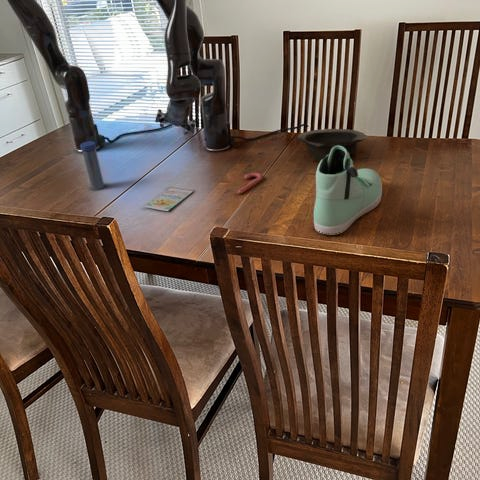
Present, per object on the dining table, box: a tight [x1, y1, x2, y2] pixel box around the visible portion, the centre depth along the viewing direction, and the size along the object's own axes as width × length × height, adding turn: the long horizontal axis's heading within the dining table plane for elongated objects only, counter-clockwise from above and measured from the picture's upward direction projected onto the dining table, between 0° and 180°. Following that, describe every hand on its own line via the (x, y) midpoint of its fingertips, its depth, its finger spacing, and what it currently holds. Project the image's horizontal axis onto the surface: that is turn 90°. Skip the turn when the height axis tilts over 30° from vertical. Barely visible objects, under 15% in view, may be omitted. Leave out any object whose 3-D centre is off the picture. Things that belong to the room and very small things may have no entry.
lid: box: [80, 141, 96, 151], centre depth 157 cm, size 5×5×2 cm
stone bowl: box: [296, 128, 369, 163], centre depth 173 cm, size 25×25×9 cm
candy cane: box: [236, 172, 263, 195], centre depth 157 cm, size 6×15×2 cm, turn 145°
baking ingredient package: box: [143, 187, 194, 212], centre depth 152 cm, size 9×1×15 cm
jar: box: [82, 149, 105, 191], centre depth 160 cm, size 4×4×15 cm
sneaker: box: [313, 146, 383, 236], centre depth 133 cm, size 14×35×20 cm, turn 152°
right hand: (174, 129), depth 177 cm, fingers open, 8 cm apart
